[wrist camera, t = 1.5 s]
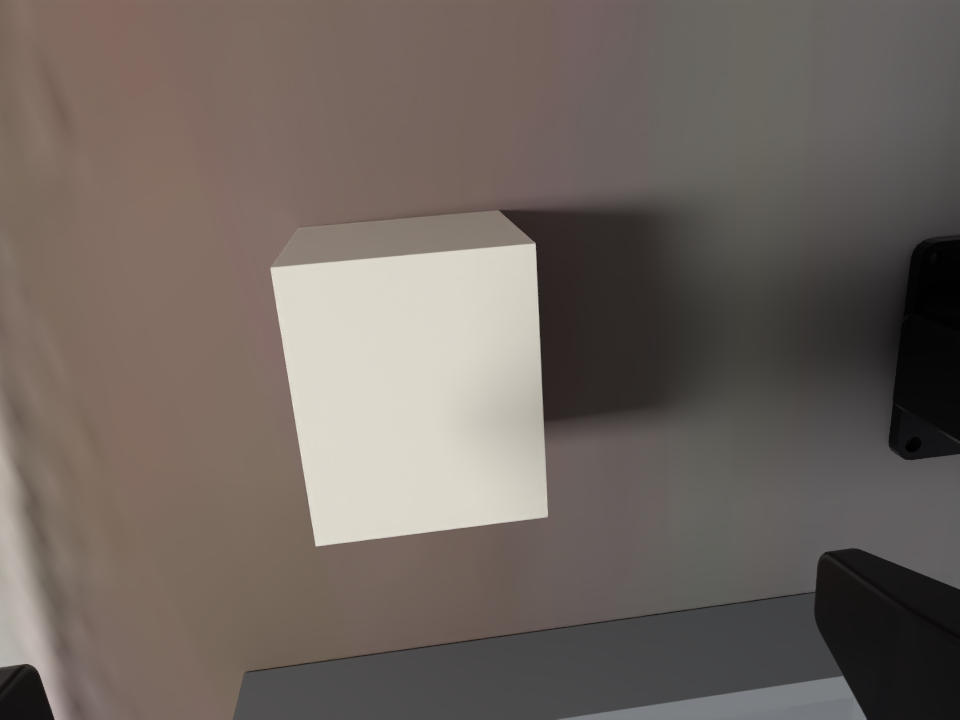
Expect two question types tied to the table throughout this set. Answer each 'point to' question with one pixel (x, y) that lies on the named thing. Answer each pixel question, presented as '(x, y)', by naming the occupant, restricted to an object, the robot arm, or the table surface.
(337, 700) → the tray
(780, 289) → the table surface
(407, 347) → the cream box
